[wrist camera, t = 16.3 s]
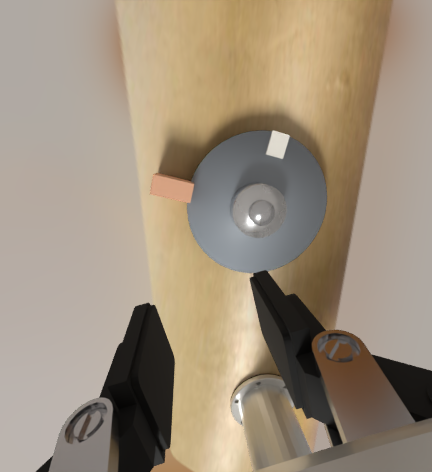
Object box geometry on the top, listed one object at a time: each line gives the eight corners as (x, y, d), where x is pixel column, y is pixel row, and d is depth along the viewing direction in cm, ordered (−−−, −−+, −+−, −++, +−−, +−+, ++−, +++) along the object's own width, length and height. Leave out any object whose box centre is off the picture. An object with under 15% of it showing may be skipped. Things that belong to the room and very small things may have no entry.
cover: (284, 188, 35) (296, 191, 31) (271, 235, 37) (281, 244, 33) (236, 177, 34) (242, 179, 30) (224, 227, 35) (229, 235, 32)
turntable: (339, 153, 36) (359, 152, 32) (295, 277, 41) (307, 290, 37) (169, 103, 32) (167, 94, 28) (143, 249, 37) (138, 260, 33)
